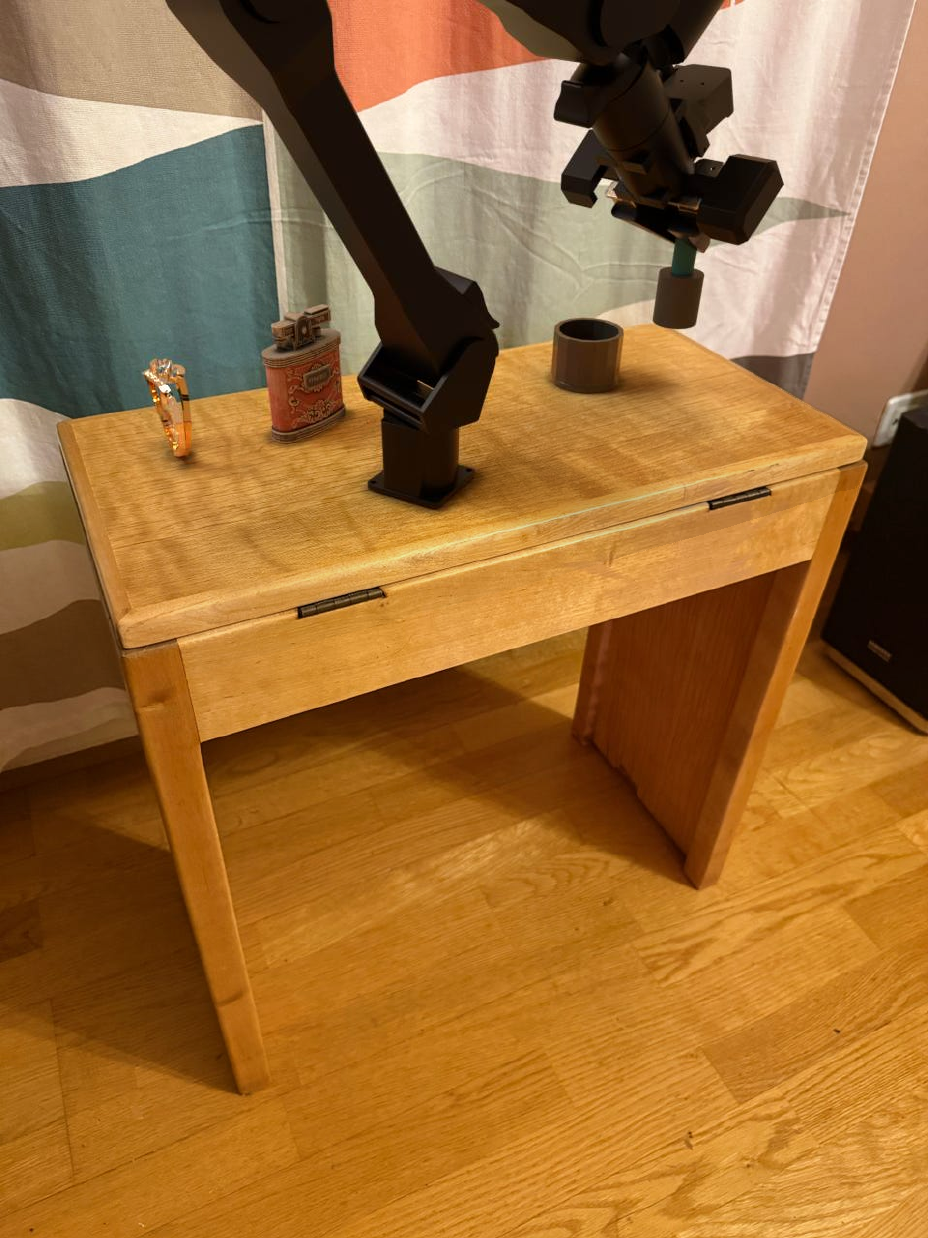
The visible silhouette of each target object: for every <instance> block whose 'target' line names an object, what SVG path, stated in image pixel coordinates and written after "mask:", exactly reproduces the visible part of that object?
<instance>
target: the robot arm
mask: <svg viewBox="0 0 928 1238" xmlns="http://www.w3.org/2000/svg"><path fill="white" fill-rule="evenodd" d="M164 1H165V4H166V5H167V8H168V9H169V10H170V12H171V13H172V14H173V16H174V17H175V19H177V21H178V22H179V23H180V25H181V26H182V27H183V28H184V29H185V30H186V32H187V33H188V34H189V35H190V37H192V39H193V40H194V41H195V42H196V43H197V45H198V46H199V47H200V49H202V50H203V52H204V53H205V54H206V55H207V57H208V58H209V59H210V60H211V61H212V62H213V63H214V64H215V65H216V66H217V67H218V68H219V69H220V70H222V71H223V73H225V74H226V75H227V76H228V77H229V78H230V79H231V80H233V82H235V84H237V85H238V86H239V87H240V88H241V89H242V90H243V91H244V92H245V93H246V94H247V95H249V96H250V97H251V98H252V99H253V100H254V101H255V102H256V103H257V104H258V106H260V108H261V109H262V110H263V111H264V113H265V115H266V117H267V118H268V120H269V121H270V123H271V125H272V126H273V129H274V130H275V131H276V133H277V135H278V136H279V138H280V140H281V141H282V143H283V145H284V146H285V149H286V150H287V152H288V153H289V155H290V157H291V158H292V160H293V162H294V163H295V165H296V167H297V169H298V170H299V171H300V174H301V175H302V177H303V178H304V180H305V182H306V184H307V185H308V187H309V189H310V190H311V192H312V194H313V195H314V197H315V198H316V200H317V202H318V203H319V205H320V207H321V209H322V210H323V212H324V214H325V215H326V217H327V219H328V220H329V223H330V224H331V226H332V227H333V229H334V230H335V232H336V234H337V235H338V237H339V239H340V241H341V242H342V244H343V246H344V248H345V250H346V251H347V253H348V254H349V256H350V257H351V259H352V261H353V263H354V264H355V266H356V267H357V269H358V271H359V272H360V274H361V276H362V277H363V280H364V281H365V283H366V284H367V286H368V288H369V289H370V291H371V294H372V296H373V308H374V309H373V311H374V312H373V313H374V315H373V316H374V317H373V318H374V320H373V321H374V324H373V325H374V328H375V330H376V332H377V335H378V337H379V340H380V341H379V342H378V345H376V347H375V349H374V350H373V352H372V353H371V354H370V356H369V358H368V359H367V361H366V362H365V363H364V365H363V367H362V368H361V370H360V371H359V373H357V376H356V382H357V384H358V386H359V389H360V391H361V394H362V396H363V398H364V399H365V400H366V401H368V402H372V403H374V404H376V405H377V406H379V407H381V408H382V418H380V430H381V431H380V433H381V449H382V450H381V453H382V470H381V471H379V472H378V473H377V474H376V475H374V476H373V477H371V478H370V479H368V480H367V483H366V484H367V489H368V490H370V491H374V492H377V493H381V494H384V495H387V496H390V497H394V498H397V499H401V500H404V501H408V502H411V503H415V504H418V505H422V506H423V507H424V506H425V507H428V508H430V509H431V508H432V509H437V508H440V507H441V506H442V505H444V503H446V501H448V500H449V499H450V498H451V497H452V496H454V495H455V494H456V493H457V492H458V491H459V490H460V489H462V488H463V487H464V486H465V485H466V484H467V483H469V481H471V480H472V479H473V478H474V477H475V476H476V469H475V468H473V467H471V466H466V465H463V464H460V463H459V460H460V428H463V427H465V426H468V425H472V424H474V423H477V422H478V421H479V420H480V418H481V414H482V411H483V407H484V405H485V401H486V398H487V395H488V392H489V389H490V384H491V381H492V377H493V375H494V372H495V371H494V370H495V367H496V363H497V362H496V361H497V358H498V357H499V355H500V344H499V341H498V337H497V334H496V333H495V331H494V330H495V329H499V328H500V326H501V323H500V322H499V321H498V320H496V319H495V318H494V317H493V316H492V314H491V313H490V312H489V309H488V306H487V303H486V299H485V296H484V295H485V294H484V292H483V290H482V289H481V287H480V285H479V284H478V282H477V281H476V280H474V279H471V278H469V277H466V276H463V275H460V274H458V273H455V272H453V271H450V270H447V269H445V268H442V267H441V266H437V265H435V263H434V261H433V259H432V257H431V256H430V253H429V252H428V250H427V248H426V246H425V244H424V242H423V240H422V238H421V236H420V234H419V232H418V230H417V228H416V226H415V224H414V222H413V220H412V218H411V216H410V215H409V212H408V210H407V208H406V207H405V204H404V202H403V200H402V198H401V196H400V195H399V193H398V191H397V189H396V187H395V185H394V183H393V182H392V179H391V177H390V175H389V173H388V171H387V169H386V168H385V166H384V164H383V161H382V159H381V158H380V156H379V154H378V152H377V150H376V147H375V146H374V144H373V142H372V140H371V138H370V136H369V135H368V132H367V130H366V128H365V127H364V125H363V123H362V120H361V119H360V117H359V115H358V113H357V111H356V109H355V107H354V105H353V103H352V101H351V99H350V97H349V95H348V93H347V91H346V89H345V88H344V85H343V83H342V82H341V79H340V77H339V74H338V71H337V69H336V62H335V61H336V60H335V43H334V24H333V22H334V21H333V14H332V11H331V7H330V5H329V2H328V0H164ZM474 1H475V2H476V3H479V4H481V5H483V6H485V7H486V8H488V10H490V11H491V12H492V13H493V14H494V15H496V17H498V20H499V22H500V24H501V25H502V27H503V29H504V30H505V32H506V33H507V34H508V35H509V36H511V37H512V38H513V39H514V40H515V41H516V42H518V43H519V44H520V45H521V46H523V48H525V49H526V50H527V51H528V52H530V53H531V54H532V55H534V56H535V57H539V58H543V59H550V60H558V61H564V62H571V63H579V64H578V66H576V69H575V70H574V72H573V73H572V75H571V76H570V78H569V80H568V79H563V80H562V81H561V83H560V92H559V95H558V98H556V101H555V104H554V109H553V114H552V115H553V116H552V117H553V120H554V121H555V122H558V123H563V124H567V125H571V126H574V127H580V128H582V129H583V128H584V129H587V132H586V133H585V135H584V137H583V139H582V140H581V141H580V143H579V144H578V146H577V148H576V149H575V150H574V153H573V154H572V156H571V158H570V159H569V161H568V162H567V164H566V165H565V167H564V169H563V170H562V172H561V173H560V183H559V184H560V191H561V192H562V194H563V195H564V197H565V199H566V200H567V202H568V203H569V204H571V205H575V206H579V207H582V208H587V209H590V210H591V209H592V208H593V207H594V206H595V204H596V203H597V201H598V199H599V197H598V196H597V194H596V193H595V191H596V189H597V187H598V186H599V184H600V183H601V181H602V179H604V180H608V181H611V182H610V184H609V186H607V189H606V190H605V192H604V195H605V197H606V198H608V199H611V201H612V202H613V206H612V207H611V208H610V215H611V216H612V217H613V218H614V219H618V220H621V221H623V222H625V223H627V224H629V225H632V226H633V227H636V228H638V229H641V230H642V231H644V232H647V233H649V234H651V235H653V236H655V237H657V238H659V239H661V240H663V241H665V242H668V243H669V244H672V245H675V239H676V237H678V238H679V239H681V240H682V241H683V242H685V243H686V244H688V245H689V246H690V247H692V248H693V249H695V250H697V252H699V253H700V254H705V253H706V251H707V249H708V248H709V246H710V244H711V240H714V241H717V242H723V243H725V244H726V243H727V244H729V245H734V246H738V247H739V246H741V245H743V244H746V243H747V242H749V241H750V240H751V238H752V236H753V235H754V233H755V232H756V230H757V229H758V227H759V225H760V224H761V222H762V221H763V219H764V217H765V216H766V214H767V212H768V211H769V210H770V208H771V206H772V204H773V203H774V201H775V200H776V198H777V197H778V195H779V194H780V192H781V190H782V189H783V187H784V186H785V183H784V180H783V177H782V176H783V175H782V172H781V170H780V167H779V164H778V161H777V160H776V159H770V158H764V157H758V156H754V155H747V154H743V153H735V154H731V155H728V157H727V159H726V160H725V161H724V162H723V161H721V160H715V159H710V158H706V157H705V158H704V156H705V154H706V153H707V151H708V149H709V148H710V146H711V143H710V140H709V138H708V136H707V135H708V134H710V133H711V132H712V131H713V130H714V129H716V127H717V126H718V125H719V124H721V123H722V122H723V121H724V120H725V119H726V118H727V119H729V118H730V117H731V116H732V115H733V113H734V111H735V107H734V91H733V90H734V89H733V75H732V70H731V69H730V68H729V67H725V66H715V65H708V64H707V65H706V64H698V63H690V64H689V63H688V64H686V65H681V64H683V63H684V62H685V61H686V60H687V58H688V57H689V56H690V54H691V53H692V51H693V50H694V48H695V46H696V45H697V44H698V42H699V41H700V39H701V38H702V36H703V34H704V33H705V32H706V30H707V29H708V28H709V26H710V24H711V22H712V21H713V19H714V18H715V16H716V14H718V12H719V10H720V9H721V7H722V6H723V4H724V3H725V1H726V0H474ZM697 158H699V159H698V160H697Z"/></svg>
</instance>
